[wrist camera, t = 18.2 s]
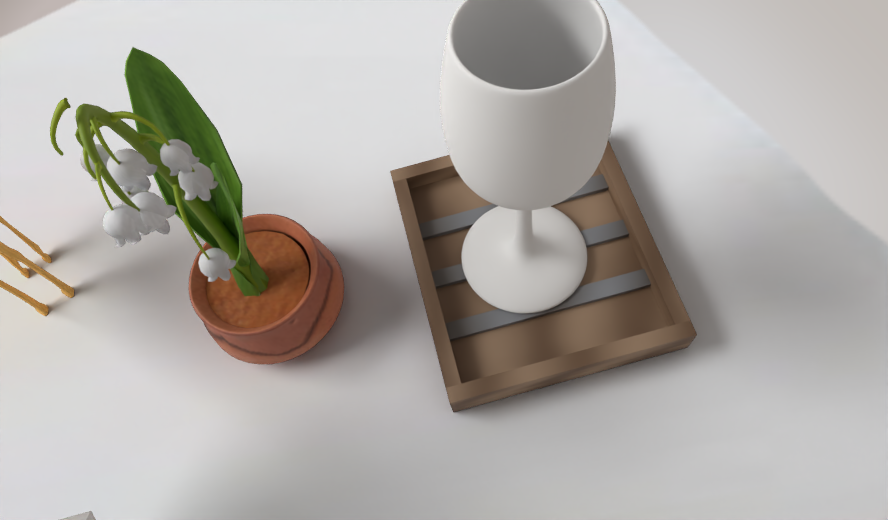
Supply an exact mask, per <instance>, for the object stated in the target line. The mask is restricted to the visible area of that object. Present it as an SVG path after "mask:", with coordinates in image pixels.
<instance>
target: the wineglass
mask: <svg viewBox="0 0 888 520" xmlns="http://www.w3.org/2000/svg"><path fill="white" fill-rule="evenodd" d="M615 94H616V81H615V63H614V53H613V45H612V38H611V32H610V27H609V23H608V19H607V17H606V14H605V12H604V10H603V9H602V7H601V6H600V4H599V3H598V1H597V0H464V1H463V3H462V4H461V5H460V6H459V7H458V9H457V10H456V12H455V14H454V15H453V17H452V19H451V22H450V24H449V27H448V31H447V36H446V41H445V47H444V53H443V60H442V68H441V80H440V112H441V121H442V128H443V133H444V138H445V142H446V145H447V149H448V152H449V155H450V158H451V160H452V163H453V165H454V167H455V169H456V171H457V172H458V174H459V175H460V177H461V178H462V180H463V181H464V182H465V183H466V185H467V186H468V187H469V188H470V189H471V190H473V191H474V192H475V193H476V194H477V195H479V196H480V197H481V198H483V199H485V200H486V201H488V202H490V203H493V204H495V205H498V206H497V207H495V208H493V209H491V210H490V211H488V212H486V213H485V214H484V215H482V216H481V217H480V218H479V219H478V220H477V221H476V222H475V223H474V224H473V225H472V227H471V228H470V230H469V231H468V233H467V235H466V237H465V240H464V243H463V247H462V267H463V271H464V274H465V277H466V279H467V281H468V283H469V284H470V286H471V287H472V289H473V290H474V291H475V292H476V293H477V295H479V296H480V297H481V298H482V299H483V300H484V301H486V302H487V303H489V304H491V305H492V306H494V307H497V308H499V309H502V310H505V311H508V312H513V313H536V312H541V311H544V310H548V309H550V308H553V307H555V306H557V305H559V304H560V303H562V302H563V301H565V300H566V299H567V298H568V297H570V296H571V295H572V294H573V293H574V291H575V290H576V289H577V288H578V286H579V285H580V283H581V281H582V279H583V277H584V274H585V271H586V267H587V248H586V244H585V241H584V238H583V236H582V234H581V232H580V230H579V229H578V227H577V226H576V225H575V223H574V222H573V221H572V220H571V219H570V218H569V217H568V216H566V215H565V214H564V213H562V212H561V211H559V210H557V209H555V208H553V207H551V206H552V205H555V204H558V203H560V202H562V201H564V200H566V199H567V198H569V197H570V196H572V195H573V194H575V193H576V192H577V191H578V190H579V189H581V188H582V187H583V186H584V185H585V184H586V183H587V181H588V180H589V179H590V178H591V176H592V175H593V173H594V172H595V170H596V169H597V167H598V165H599V163H600V161H601V159H602V156H603V154H604V151H605V148H606V145H607V142H608V139H609V135H610V131H611V127H612V122H613V116H614V108H615Z"/></svg>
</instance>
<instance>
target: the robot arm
mask: <svg viewBox="0 0 888 520" xmlns="http://www.w3.org/2000/svg"><path fill="white" fill-rule="evenodd" d="M60 520H96V519H95V517H94V515H93V513H92V512H91V511H89V512H85V513H82V514H78V515H75V516H71V517H67V518H64V519H60Z"/></svg>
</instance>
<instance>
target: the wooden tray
mask: <svg viewBox="0 0 888 520" xmlns="http://www.w3.org/2000/svg"><path fill="white" fill-rule="evenodd" d="M390 172H391V176H392V180H393V184H394V188H395V192H396V195H397V199H398V203H399V207H400V211H401V215H402V219H403V223H404V227H405V231H406V234H407V238H408V242H409V246H410V250H411V254H412V258H413V262H414V266H415V270H416V273H417V277H418V281H419V285H420V289H421V293H422V297H423V301H424V305H425V309H426V312H427V316H428V320H429V324H430V328H431V332H432V336H433V340H434V344H435V347H436V351H437V355H438V359H439V363H440V367H441V371H442V375H443V379H444V383H445V386H446V390H447V394H448V398H449V402H450V405H451V407H452V410H453V412H456V411H460V410H463V409H467V408H470V407H474V406H478V405H481V404H485V403H488V402H492V401H496V400H499V399H503V398H506V397H510V396H514V395H517V394H521V393H525V392H528V391H532V390H535V389H539V388H543V387H546V386H550V385H553V384H557V383H561V382H564V381H568V380H571V379H575V378H579V377H582V376H586V375H590V374H593V373H597V372H600V371H604V370H608V369H611V368H615V367H618V366H622V365H626V364H629V363H633V362H636V361H640V360H644V359H647V358H651V357H655V356H658V355H662V354H665V353H669V352H673V351H676V350H680V349H683V348H687V347H688V346H689V345H690V344H691V342H692V341H693V340H694V338H695V337H696V336H697V334H696V332H695V329H694V327H693V325H692V323H691V321H690V318H689V316H688V314H687V312H686V310H685V307H684V305H683V303H682V301H681V299H680V297H679V294H678V292H677V290H676V288H675V286H674V283H673V281H672V279H671V277H670V275H669V272H668V270H667V268H666V266H665V264H664V261H663V259H662V257H661V255H660V253H659V251H658V248H657V246H656V244H655V242H654V240H653V237H652V235H651V233H650V231H649V229H648V226H647V224H646V222H645V220H644V218H643V216H642V213H641V211H640V209H639V207H638V205H637V202H636V200H635V198H634V196H633V194H632V191H631V189H630V187H629V185H628V183H627V180H626V178H625V176H624V174H623V172H622V170H621V167H620V165H619V163H618V161H617V159H616V156H615V154H614V152H613V150H612V148H611V145H610V143H609V141H608V142H607V145H606V148H605V151H604V154H603V156H602V159H601V161H600V163H599V165H598V167H597V169H596V170H595V172H594V173H593V175H592V176H591V178H590V179H589V180H588V181H587V183H586V184H585V185H584V186H583V187H582V188H581V189H579V190H578V191H577V192H576V193H575V194H573V195H572V196H570V197H569V198H567V199H566V200H564V201H562V202H560V203H558V204H555V205H552V206H551V207H553V208H555V209H557V210H559V211H561V212H562V213H564V214H565V215H566V216H568V217H569V218H570V219H571V220H572V221H573V222H574V223H575V225H576V226H577V227H578V229H579V230H580V232H581V234H582V236H583V238H584V241H585V244H586V248H587V267H586V271H585V274H584V277H583V279H582V281H581V283H580V285H579V286H578V288H577V289H576V290H575V291H574V293H573V294H572V295H571V296H570V297H568V298H567V299H566V300H565V301H563V302H562V303H560V304H559V305H557V306H555V307H553V308H550V309H548V310H544V311H541V312H536V313H513V312H508V311H505V310H502V309H499V308H497V307H494V306H492V305H491V304H489V303H487V302H486V301H484V300H483V299H482V298H481V297H480V296H479V295H477V293H476V292H475V291H474V290H473V289H472V287H471V286H470V284H469V283H468V281H467V279H466V277H465V274H464V271H463V267H462V247H463V243H464V240H465V237H466V235H467V233H468V231H469V230H470V228H471V227H472V225H473V224H474V223H475V222H476V221H477V220H478V219H479V218H480V217H481V216H482V215H484V214H485V213H486V212H488V211H490V210H491V209H493V208H495V207H497V206H498V205H495V204H493V203H490V202H488V201H486V200H485V199H483V198H481V197H480V196H479V195H477V194H476V193H475V192H474V191H473V190H471V189H470V188H469V187H468V186H467V185H466V183H465V182H464V181H463V180H462V178H461V177H460V175H459V174H458V172H457V171H456V169H455V167H454V165H453V163H452V160H451V158H450V155H447V156H444V157H440V158H436V159H433V160H429V161H425V162H422V163H418V164H414V165H411V166H407V167H403V168H399V169H396V170H392V171H390Z"/></svg>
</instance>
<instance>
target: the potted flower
mask: <svg viewBox="0 0 888 520" xmlns="http://www.w3.org/2000/svg"><path fill="white" fill-rule="evenodd" d="M125 78H126V82H127V87H128V91H129V95H130V100H131V104H132V109H133V113H131V112H125V111H120V112H112V113H110V112H108V111H106V110H104V109H102V108H100V107H98V106H94V105H89V104H82V105H80V106H79V107H78V108H77V110H76V122H77V127H78V129H77V131H76V134H75V135H76V138H77V140H78V142H79V143H80V144H81V146H82V147H83V151H82V153H81V157H80V161H81V165H82V167H83V168H84V170H85V171H88V172H89V173H90V175H91V176H92V177H93V178H92V180H91V181H98V184H99V187H100V189H101V192H102V194H103V196H104V198H105V200H106V202H107V204H108V206H109V207H110V209H109V210H108V211H107V212H106V213H105V216H104V219H103V227H104V229H105V231H106V233H107V234H109V235H110V236H112V237H114V238H115V240H116V243H117V244H116V245H115V247H122V246H123V245H124V244H125V240H126V241H127V242H128V243H130V244H131V245H133V244H135V243H137V242H139V241H140V240H141V236H140V235H147V234H149V233H150V232H153V231H155V230H157V231H158V232H160V233H162V234H168V232H169V230H170V226H169V223H168V221H167V220H166V218H169V217H171V216H173V215H174V213H175V214H176V215H177V216H178V217H179V218H180V219H181V220H182V221H183V222H184V223H185V225H186V227H187V229H188V231H189V233H190V234H191V236H192V237H193V239H194V241H195V242H196V244H197V245H198V247H199V248H200V249H201V250H200V251H199V253H198V255H197V256H196V258H195V260H194V263H193V266H192V268H191V272H190V277H189V295H190V300H191V303H192V306H193V308H194V310H195V311H196V313H197V315H198V316H199V317H200V318H201V320H202V321H203V322H204V325H205V327H206V328H207V330H208V332H209V333H210V335H211V336H212V337H213V339H214V340H215V341H216V342H217V344H218V345H219V346H220V347H221V348H222V349H223V350H224V351H225V352H227V353H228V354H229V355H231V356H233V357H235V358H237V359H238V360H242V361H245V362H248V363H254V364H274V363H280V362H284V361H287V360H290V359H293V358H295V357H297V356H299V355H301V354H303V353H305V352H306V351H308V350H309V349H311V348H312V347H314V346H315V345H316V344H317V343H318V342H319V341H320V340H321V339H322V338H323V337H324V336H325V335H326V334H327V333H328V331H329V330H330V329H331V327H332V326H333V324H334V322H335V321H336V319H337V317H338V314H339V312H340V309H341V306H342V302H343V296H344V280H343V275H342V271H341V268H340V266H339V264H338V262H337V260H336V258H335V257H334V255H333V254H332V253H331V252H330V251H329V250H328V249H327V248H326V247H325V246H324V245H323V244H322V243H321V242H320V241H319V240H318V239H317V238H315V237H314V236H312V235H311V234H309V232H308V231H307V230H306V229H305V228H304V227H303V226H302V225H300V224H299V223H297V222H296V221H294V220H292V219H289V218H287V217H284V216H280V215H274V214H257V215H252V216H247V217H244V218H242V183H241V181H240V179H239V177H238V175H237V172H236V170H235V168H234V166H233V164H232V161H231V159H230V157H229V155H228V153H227V150H226V148H225V146H224V144H223V142H222V139H221V137H220V135H219V133H218V131H217V129H216V128H215V126H214V125H213V123H212V122H211V121H210V119H209V118H208V117H207V115H206V114H205V113H204V111H203V110H202V109H201V107H200V106H199V105H198V103H197V102H196V101H195V99H194V98H193V97H192V95H191V94H190V92H189V91H188V90H187V88H186V87H185V86H184V84H183V83H182V82H181V80H180V79H179V78H178V77H177V76H176V75H175V74H174V73H173V72H172V71H171V70H170V69H169V68H168V67H167V66H166V65H165V64H164V63H163V62H162V61H160V60H158V59H157V58H155V57H154V56H152V55H150V54H148V53H146V52H143V51H141V50H138V49H136V48H132V50H131V52H130V54H129V56H128V58H127V60H126V65H125ZM67 100H68V99H67V98H64V99H63V100H61V101H60V102H59V103H58V105H57V107H56V109H55V112H54V115H53V118H52V121H51V127H50V136H51V142H52V144H53V146H54V148H55V150H56V151H57V152H58V153H59V154H60V155H63V152H62V151H61V150H60V149H59V148H58V145H57V143H56V137H55V134H56V128H57V125H58V122H59V119H60V117H61V115H62V113H63V112H64V111H65V110H66V109H67V108H71V107H70V104H69V103H68V101H67ZM123 118H127V119H133V120H135V123H136V127H137V132H138V133H137V132H136V131H135V130H134V129H133V128H131V127H130V126H129V125H127V124H126V123H125V122H123V121H122V120H121V119H123ZM101 126H108V127H110V128H111V129H112V130H113V131H115V132H116V133H117V134H118V135H120V136H121V137H122V138H123V139H124V140H126V141H127V142H128V143H129V144H130V145H131V146H132V147H133V148H134V149H135V150H136V151H135V150H133V149H122V150H118V151H117V152H115V153H114V154H113V153H112V151H111V150H110V149H109V147H108V146H107V144H106V142H105V141H104V139H103V137H102V135H101V132H100V130H99V128H100V127H101ZM95 133H96V136H97V137H98V139H99V141H100V143H101V144H102V145H95V143H94V140H93V136H94V134H95ZM81 140H82V141H81ZM147 162H148V163H147ZM146 175H147V176H151V175H154V178H155V180H156V182H157V184H158V187H159V189H160V191H161V193H162V196H163V198H164V200H165V201H164V200H163V199H162V198H160V197H159V196H157V195H156V194H154V193H150V192H148V190H149V188H150V185H151V183H150V181H149V179H148V177H147V176H146ZM101 176H102V177H103V179H104V180H105V181H106V183H107V184H108V185H109V187H110V188H111V189H112V190H113V192H114V193H115V194H116V195H117V196H118V197H119V198H120V199H121V200H122V204H121V205H116V206H114V207H112V206H111V204H110V202H109V200H108V197H107V195H106V193H105V190H104V187H103V184H102V180H101ZM118 185H120V186H122V189H121V188H120V187H119V186H118ZM165 202H166V203H165ZM193 231H194V232H195V233H196V234H197V235H199V236H200V237H201V238H202V239H203V240H204V241H205V242H206V243H205V244H204V246H203V247H202V246H201V244H200V243H199V241H198V240H197V238H196V236H195V234H194V232H193Z"/></svg>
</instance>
